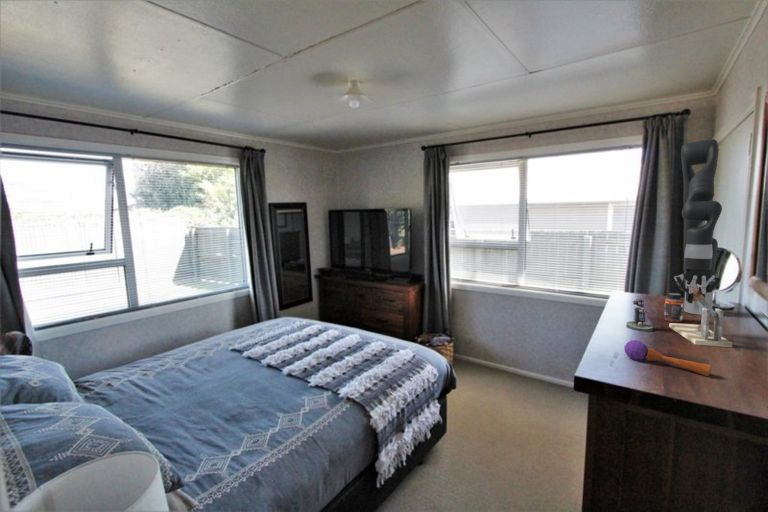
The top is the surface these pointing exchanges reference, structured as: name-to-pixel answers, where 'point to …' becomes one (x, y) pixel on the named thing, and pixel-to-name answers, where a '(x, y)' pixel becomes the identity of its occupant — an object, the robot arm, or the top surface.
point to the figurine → (639, 318)
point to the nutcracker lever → (702, 303)
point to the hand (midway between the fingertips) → (694, 302)
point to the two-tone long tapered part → (662, 357)
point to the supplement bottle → (673, 308)
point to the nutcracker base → (704, 330)
